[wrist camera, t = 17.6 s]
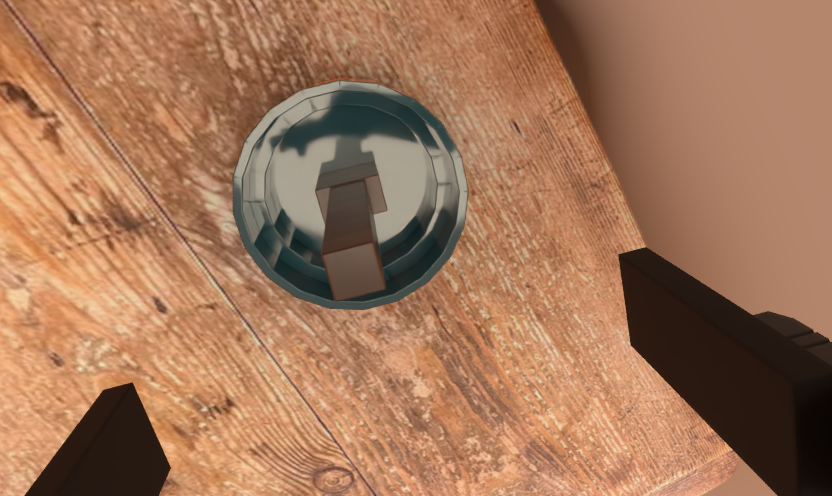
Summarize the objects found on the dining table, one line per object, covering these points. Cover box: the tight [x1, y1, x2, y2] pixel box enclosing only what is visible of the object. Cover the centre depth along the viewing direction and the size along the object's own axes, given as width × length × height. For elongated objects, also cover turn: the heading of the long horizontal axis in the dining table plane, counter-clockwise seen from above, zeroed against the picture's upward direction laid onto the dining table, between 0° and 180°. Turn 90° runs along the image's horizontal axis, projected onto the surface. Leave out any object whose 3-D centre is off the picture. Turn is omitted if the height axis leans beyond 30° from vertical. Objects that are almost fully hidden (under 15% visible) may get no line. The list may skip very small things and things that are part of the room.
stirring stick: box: [315, 161, 388, 302], centre depth 33 cm, size 4×2×18 cm, turn 103°
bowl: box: [233, 77, 468, 310], centre depth 39 cm, size 14×14×6 cm
